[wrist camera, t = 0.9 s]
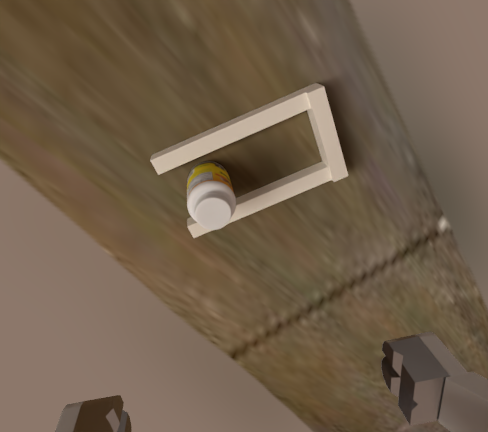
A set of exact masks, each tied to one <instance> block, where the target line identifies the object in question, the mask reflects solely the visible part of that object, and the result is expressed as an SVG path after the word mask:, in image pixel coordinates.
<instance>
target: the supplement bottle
mask: <svg viewBox="0 0 488 432" xmlns="http://www.w3.org/2000/svg"><path fill="white" fill-rule="evenodd" d="M187 207H188V211H189V214H190V215H191V217H192V218H193V219H194V220H195V221H196V222H198V223H199V225H200V226H202V227H203V228H205V229H209V230H217V229H220V228H222V227H224V226H225V225H227V224H228V222H229V221H230V219H231V217H232V215H233V214H234V212H235V209H236V198H235V194H234V191H233V188H232V184H231V181H230V178H229V175H228V173H227V171H226V170H225V168H224V167H222V166H221V165H220V164H218V163H215V162H209V161H208V162H202V163H199V164H197V165H196V166H195V167H193V168H192V170H191V171H190V173H189V175H188V179H187Z"/></svg>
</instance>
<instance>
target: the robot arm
mask: <svg viewBox="0 0 488 432" xmlns="http://www.w3.org/2000/svg"><path fill="white" fill-rule="evenodd" d="M382 351H383V353H384V354H385V357H384V358H383V359H382V361H381V369H382V374H383V378H384V380H385V383H386V385H387V387H388V389H389V390H390V392H391V393H393V394H394V395H396V396H397V397H399V400H398V406H399V408H400V409H401V411H402V413H403V414H404V416H405V418H406V420H407V421H408V423H409V425H410V426H411V425H416V424H422V423H427V422H432V421H438V422H439V423H440V424H441V425H443V426H444V427H445V428H447V429H448V430H449V431H451V432H488V379H486V378H484V377H482V376H480V375H478V374H476V373H474V372H469V373H468V372H467V371H466V370H465V369H464V367H463V366H462V365H461V364H460V363H459V362H458V360H457V359H456V358H455V357H454V356H453V355H452V353H451V352H450V351H449V350H448V349H447V348H446V347H445V345H444V344H443V343H442V342H441V341H440V340H439V338H438V337H437V336H436V335H435V334H434V333H432V332H426V333H421V334H417V335H411V336H406V337H401V338H397V339H392V340H387V341H384V343H383V344H382ZM122 409H123V401H122V398H121V396H118V395H117V396H112V397H106V398H101V399H95V400H89V401H84V402H79V403H73V404H68V405H66V406H65V408H64V409H63V411H62V413H61V416H60V419H59V422H58V425H57V428H56V431H55V432H131V422H130V418H129V415H128V413H127V412H125V411H124V410H122Z"/></svg>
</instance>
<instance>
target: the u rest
mask: <svg viewBox="0 0 488 432" xmlns="http://www.w3.org/2000/svg"><path fill="white" fill-rule="evenodd" d="M306 110H307V112H308V116H309V119H310V122H311V125H312V129H313V132H314V135H315V139H316V142H317V145H318V148H319V152H320V155H321V158H322V162H319V163H317V164H315V165H312V166H310V167H308V168H305V169H303V170H300V171H298V172H296V173H293V174H291V175H289V176H286V177H284V178H282V179H279V180H277V181H275V182H272V183H270V184H268V185H265V186H263V187H261V188H258V189H256V190H254V191H251V192H249V193H247V194H244V195H242V196H240V197H237V198H236V209H235V212H234V214H233V215H232V217H231V219H230V221H229V222H228V224H229V223H231V222H233V221H236V220H238V219H240V218H243V217H245V216H247V215H250V214H252V213H254V212H257V211H259V210H262V209H264V208H266V207H269V206H271V205H273V204H276V203H278V202H280V201H283V200H285V199H288V198H290V197H292V196H295V195H297V194H299V193H302V192H304V191H306V190H309V189H311V188H313V187H316V186H318V185H321V184H323V183H325V182H328V181H330V180H333V181H334V182H335V181H337V180H340V179H342V178H345V177H347V176H348V172H347V169H346V165H345V161H344V158H343V154H342V150H341V147H340V143H339V139H338V136H337V132H336V128H335V124H334V121H333V117H332V113H331V110H330V106H329V102H328V99H327V95H326V91H325V88H324V86H322V85H320V84H318V83H314V84H312V85H310V86H307V87H305V88H303V89H301V90H298V91H296V92H294V93H291V94H289V95H287V96H285V97H282V98H280V99H278V100H276V101H273V102H271V103H269V104H266V105H264V106H262V107H260V108H257V109H255V110H253V111H251V112H248V113H246V114H244V115H241V116H239V117H237V118H235V119H232V120H230V121H228V122H226V123H223V124H221V125H219V126H216V127H214V128H212V129H210V130H207V131H205V132H203V133H201V134H198V135H196V136H194V137H191V138H189V139H187V140H185V141H182V142H180V143H178V144H176V145H173V146H171V147H169V148H166V149H164V150H162V151H160V152H157V153H155V154H153V155H152V156H151V160H150V161H151V163H152V164H153V166H154V168H155V170H156V172H157V173H158V175H159V174H161V173H164V172H166V171H168V170H171V169H173V168H175V167H177V166H180V165H182V164H184V163H187V162H189V161H191V160H194V159H196V158H198V157H200V156H203V155H205V154H207V153H210V152H212V151H214V150H216V149H219V148H221V147H223V146H226V145H228V144H230V143H232V142H235V141H237V140H239V139H242V138H244V137H246V136H249V135H251V134H253V133H255V132H258V131H260V130H262V129H265V128H267V127H269V126H271V125H274V124H276V123H278V122H281V121H283V120H285V119H287V118H290V117H292V116H294V115H297V114H299V113H301V112H304V111H306ZM187 227H188V229H189V231H190V232H191V234H192V236H193V238H195V237H198V236H200V235H203V234H205V233H207V232H210V231H212V230H209V229H205V228H203V227H202V226H200V225H199V223H198V222H196V221H195V220H194V219H193V218H192V217H190V218H188V219H187Z"/></svg>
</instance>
